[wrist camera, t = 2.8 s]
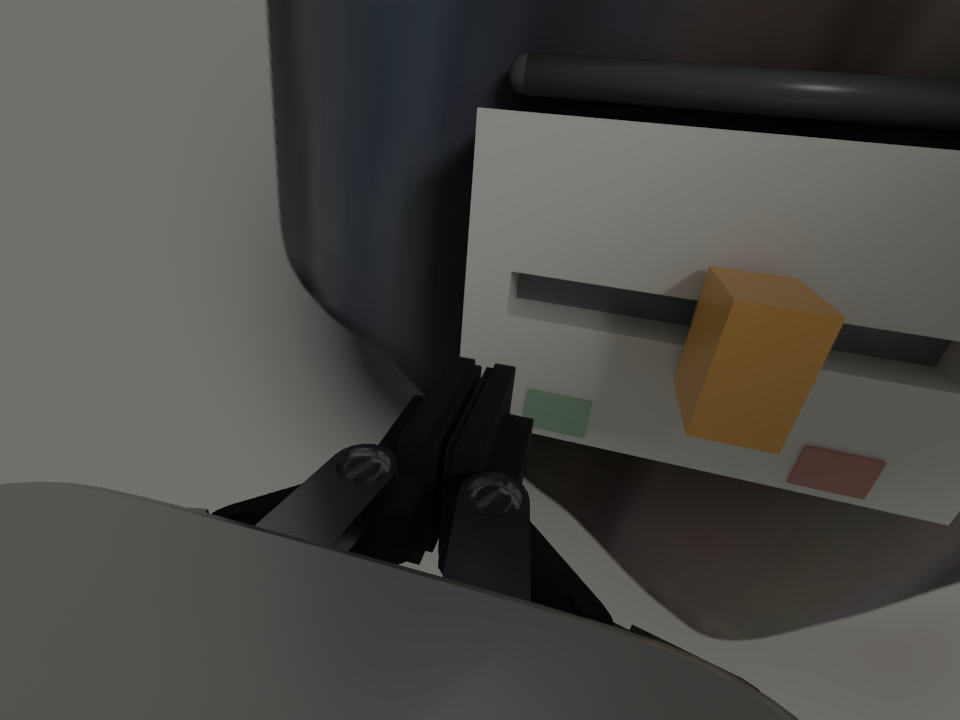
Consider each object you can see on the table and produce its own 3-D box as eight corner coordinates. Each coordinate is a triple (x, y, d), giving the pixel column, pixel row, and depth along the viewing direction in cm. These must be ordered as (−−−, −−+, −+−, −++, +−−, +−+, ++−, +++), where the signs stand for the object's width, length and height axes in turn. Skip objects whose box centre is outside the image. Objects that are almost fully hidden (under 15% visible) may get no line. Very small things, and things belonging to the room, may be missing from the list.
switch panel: (1114, 93, 16) (1304, 79, 12) (887, 453, 24) (951, 529, 19) (510, 53, 20) (481, 31, 16) (480, 372, 28) (454, 418, 24)
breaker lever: (777, 262, 19) (846, 317, 13) (735, 369, 21) (778, 454, 15) (699, 251, 19) (734, 299, 14) (667, 357, 22) (685, 435, 16)
